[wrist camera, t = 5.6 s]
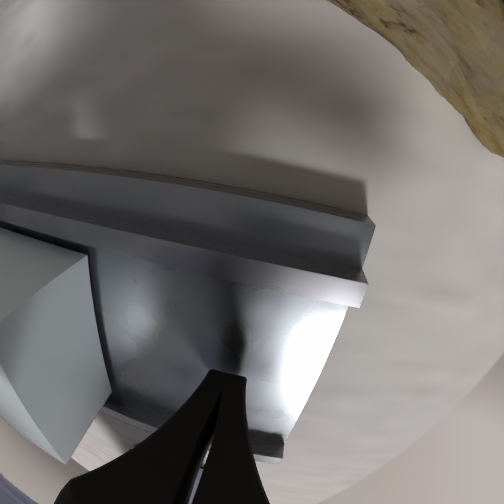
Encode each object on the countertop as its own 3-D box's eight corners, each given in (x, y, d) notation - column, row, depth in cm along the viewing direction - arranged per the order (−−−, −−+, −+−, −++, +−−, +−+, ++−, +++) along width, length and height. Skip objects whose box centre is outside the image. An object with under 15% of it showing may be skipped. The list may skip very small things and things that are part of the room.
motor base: (276, 446, 15) (263, 533, 9) (-15, 324, 16) (-56, 362, 11) (368, 216, 9) (447, 331, 3) (-48, 160, 11) (-110, 183, 5)
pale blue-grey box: (117, 411, 14) (79, 479, 9) (15, 355, 14) (-26, 400, 10) (87, 255, 10) (-14, 333, 5) (-23, 219, 10) (-91, 256, 6)
